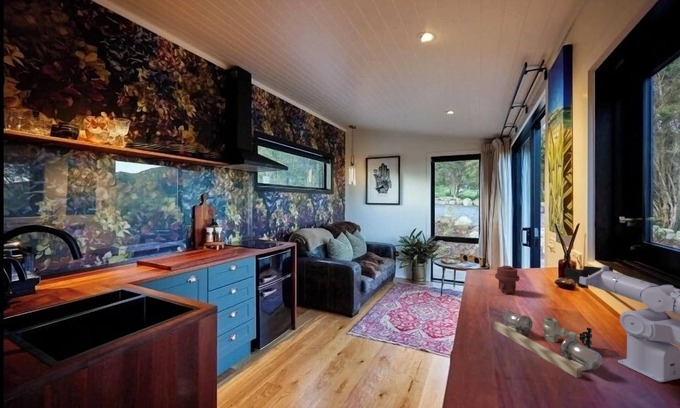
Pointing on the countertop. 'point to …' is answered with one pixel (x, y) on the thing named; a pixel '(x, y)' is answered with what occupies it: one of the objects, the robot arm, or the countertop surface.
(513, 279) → the mechanical component
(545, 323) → the valve
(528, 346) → the backing rail
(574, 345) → the pipe line
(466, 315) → the countertop surface
